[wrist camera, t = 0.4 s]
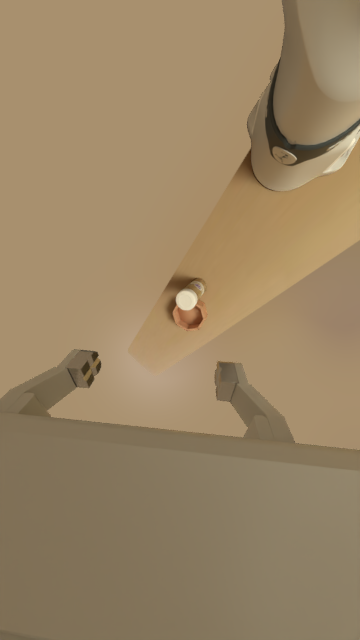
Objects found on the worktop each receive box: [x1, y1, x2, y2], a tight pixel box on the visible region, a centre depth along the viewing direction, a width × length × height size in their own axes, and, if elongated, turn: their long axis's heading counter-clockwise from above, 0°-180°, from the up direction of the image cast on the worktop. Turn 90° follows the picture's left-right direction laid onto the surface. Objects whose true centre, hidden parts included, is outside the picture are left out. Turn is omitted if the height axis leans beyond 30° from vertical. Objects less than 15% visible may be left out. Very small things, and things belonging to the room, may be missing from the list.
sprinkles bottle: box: [176, 279, 207, 310], centre depth 41 cm, size 5×5×13 cm
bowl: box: [172, 300, 207, 331], centre depth 49 cm, size 9×9×4 cm
